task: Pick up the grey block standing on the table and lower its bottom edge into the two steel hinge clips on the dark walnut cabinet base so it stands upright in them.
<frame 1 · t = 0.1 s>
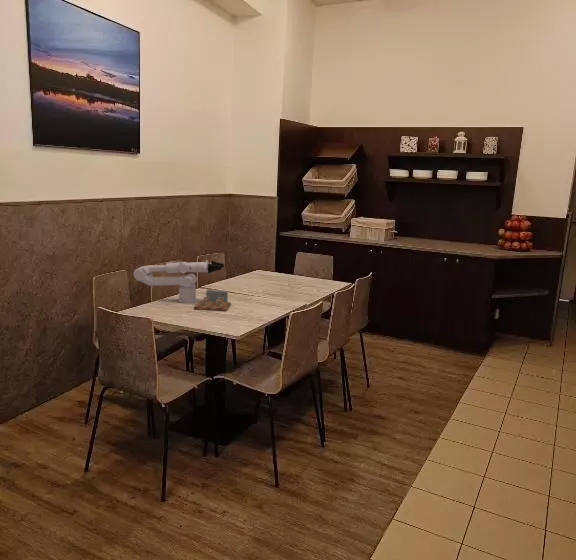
hand: (222, 266, 289), 21 cm above the table, fingers open, 7 cm apart
cabinet base: (212, 307, 283), on the table
grey block: (217, 302, 295), on the table
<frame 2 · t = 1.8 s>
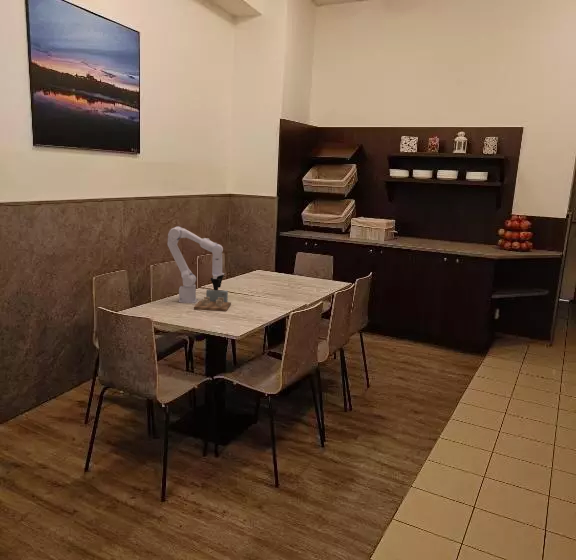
hand: (217, 288, 293), 8 cm above the table, fingers open, 7 cm apart
nothing on the table moved.
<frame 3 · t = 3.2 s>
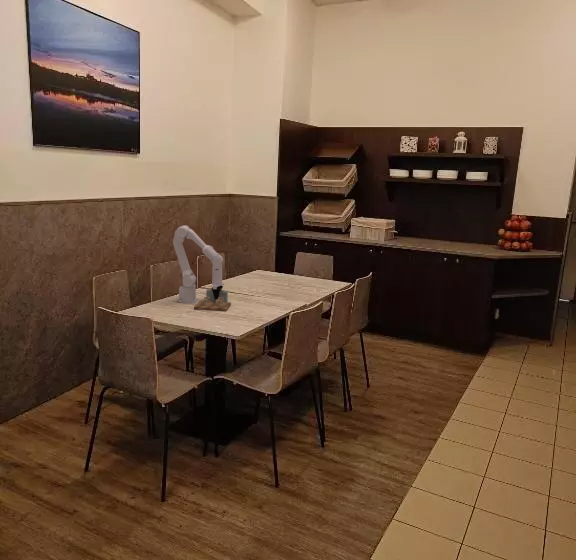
hand: (217, 298, 294), 2 cm above the table, fingers closed on grey block, 3 cm apart
grey block: (216, 302, 295), on the table, touching gripper
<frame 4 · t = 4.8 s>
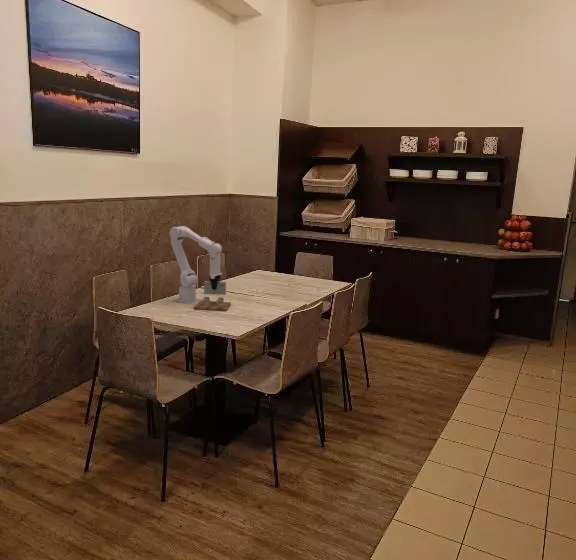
hand: (214, 288, 286), 9 cm above the table, fingers closed on grey block, 3 cm apart
grey block: (215, 293, 287), point 7 cm above the table, touching gripper
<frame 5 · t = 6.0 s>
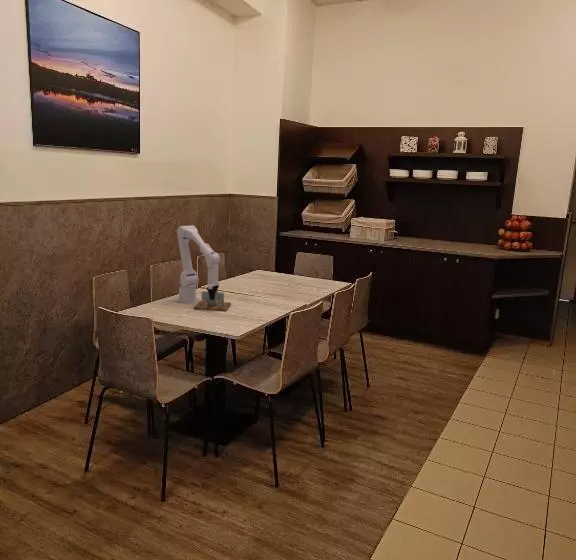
hand: (212, 299, 282), 5 cm above the table, fingers closed on grey block, 3 cm apart
grey block: (212, 304, 283), point 2 cm above the table, touching gripper
when the fingers open (5 cm above the table, at t = 6.4 s): grey block stays where it is, resting on cabinet base.
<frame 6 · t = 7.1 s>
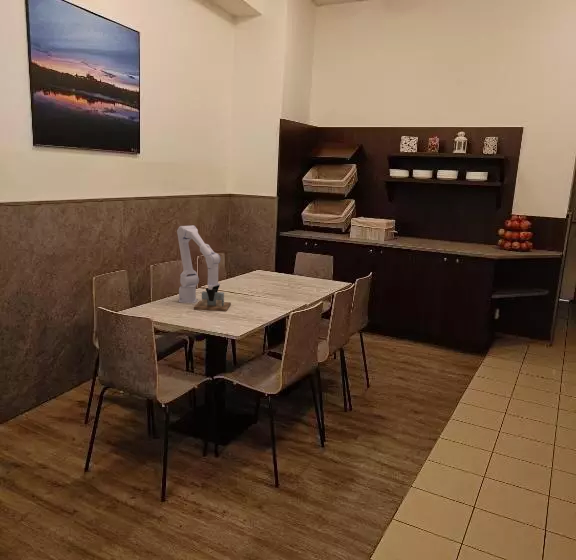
hand: (212, 299, 282), 5 cm above the table, fingers open, 7 cm apart
grey block: (212, 304, 283), point 1 cm above the table, touching cabinet base
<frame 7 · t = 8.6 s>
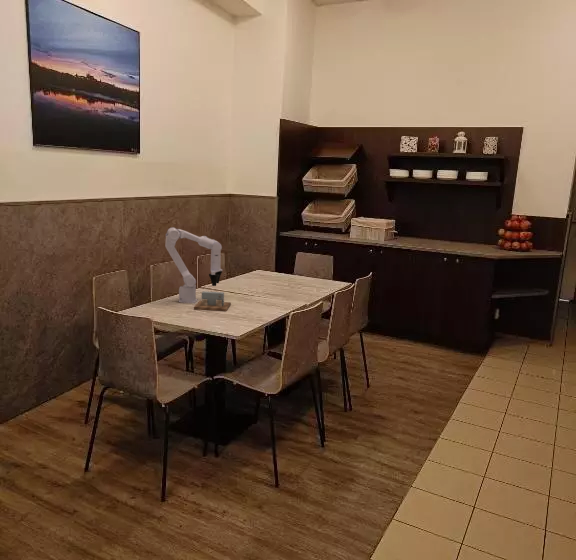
hand: (215, 284, 297), 9 cm above the table, fingers open, 7 cm apart
nothing on the table moved.
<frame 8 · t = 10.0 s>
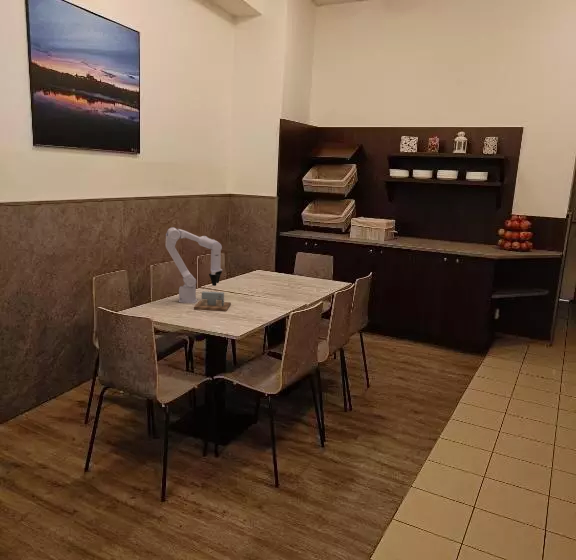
hand: (215, 284, 298), 9 cm above the table, fingers open, 7 cm apart
nothing on the table moved.
at the end: grey block 0.1 cm off-centre on the cabinet base, point 1.5 cm above the cabinet base's base; grey block tilted 0°; the gripper is holding nothing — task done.
